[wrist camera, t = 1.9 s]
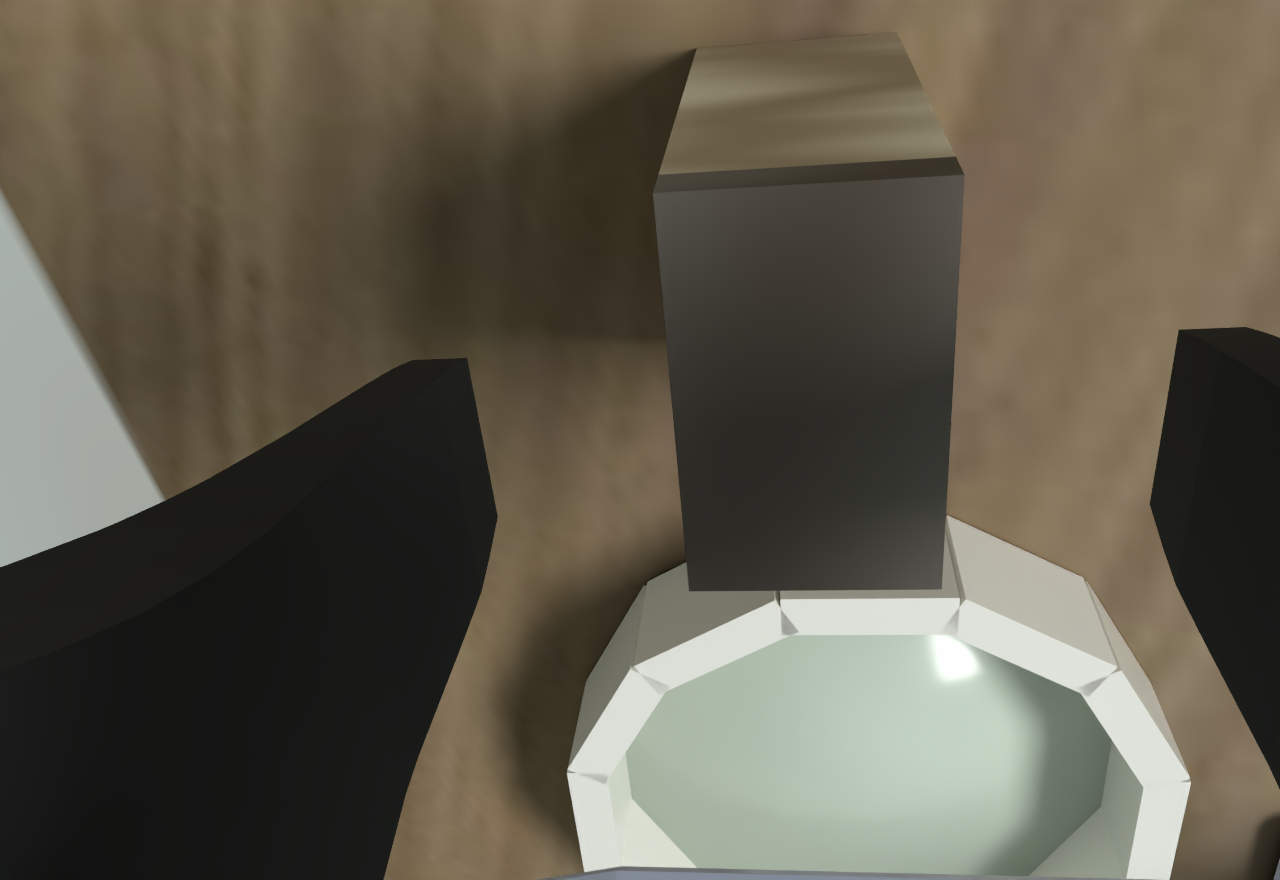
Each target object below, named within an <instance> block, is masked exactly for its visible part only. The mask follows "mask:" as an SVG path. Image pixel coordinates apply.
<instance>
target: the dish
mask: <svg viewBox="0 0 1280 880" xmlns="http://www.w3.org/2000/svg"><path fill="white" fill-rule="evenodd" d="M567 777H568V782H569V788H570V794H571V799H572V805H573V810H574V816H575V822H576V827H577V833H578V838H579V844H580V849H581V855H582V861H583V866H584V872H589V871H595V870H601V869H607V868H614V867H620V866H635V867H675V868H715V869H755V870H795V871H835V872H875V873H915V874H955V875H995V876H1034V877H1074V878H1114V879H1154V880H1170V875H1171V871H1172V866H1173V862H1174V857H1175V853H1176V848H1177V844H1178V839H1179V834H1180V830H1181V825H1182V821H1183V816H1184V812H1185V807H1186V803H1187V798H1188V794H1189V789H1190V785H1191V781H1190V776H1189V774H1188V772H1187V769H1186V767H1185V764H1184V762H1183V760H1182V757H1181V755H1180V752H1179V750H1178V748H1177V745H1176V743H1175V740H1174V738H1173V736H1172V733H1171V731H1170V728H1169V726H1168V724H1167V721H1166V719H1165V716H1164V714H1163V712H1162V709H1161V707H1160V704H1159V702H1158V700H1157V697H1156V695H1155V692H1154V690H1153V688H1152V685H1151V683H1150V681H1149V680H1148V678H1147V676H1146V675H1145V673H1144V672H1143V670H1142V668H1141V667H1140V665H1139V664H1138V662H1137V660H1136V659H1135V657H1134V656H1133V654H1132V652H1131V651H1130V649H1129V648H1128V646H1127V644H1126V643H1125V641H1124V640H1123V638H1122V636H1121V635H1120V633H1119V632H1118V630H1117V628H1116V627H1115V625H1114V624H1113V622H1112V620H1111V619H1110V617H1109V616H1108V614H1107V612H1106V611H1105V609H1104V608H1103V606H1102V604H1101V603H1100V601H1099V600H1098V598H1097V596H1096V595H1095V593H1094V592H1093V590H1092V588H1091V587H1090V585H1089V584H1088V582H1087V581H1084V579H1083V577H1081V576H1079V575H1076V574H1074V573H1072V572H1070V571H1068V570H1065V569H1063V568H1061V567H1059V566H1057V565H1055V564H1052V563H1050V562H1048V561H1046V560H1044V559H1041V558H1039V557H1037V556H1035V555H1033V554H1031V553H1028V552H1026V551H1024V550H1022V549H1020V548H1017V547H1015V546H1013V545H1011V544H1009V543H1007V542H1004V541H1002V540H1000V539H998V538H996V537H993V536H991V535H989V534H987V533H985V532H983V531H980V530H978V529H976V528H974V527H972V526H969V525H967V524H965V523H963V522H961V521H959V520H956V519H954V518H952V517H950V516H948V515H946V522H945V540H944V558H943V577H942V590H817V591H689V585H688V574H687V563H684V564H682V565H680V566H678V567H676V568H674V569H672V570H670V571H668V572H666V573H664V574H662V575H660V576H658V577H656V578H654V579H652V580H650V581H648V582H647V586H646V585H644V586H643V587H642V589H641V591H640V592H639V594H638V596H637V597H636V599H635V601H634V602H633V604H632V606H631V607H630V609H629V611H628V612H627V614H626V616H625V617H624V619H623V621H622V622H621V624H620V626H619V627H618V629H617V631H616V632H615V634H614V636H613V637H612V639H611V641H610V642H609V644H608V646H607V647H606V649H605V651H604V652H603V654H602V656H601V657H600V659H599V661H598V662H597V664H596V666H595V667H594V669H593V671H592V672H591V674H590V676H589V677H588V679H587V681H586V685H585V689H584V694H583V699H582V703H581V708H580V713H579V718H578V722H577V727H576V732H575V736H574V741H573V746H572V751H571V755H570V760H569V765H568V770H567Z"/></svg>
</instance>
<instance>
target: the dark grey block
mask: <svg viewBox="0 0 1280 880" xmlns="http://www.w3.org/2000/svg"><path fill="white" fill-rule="evenodd" d="M963 191H964V173H963V171H962V169H961V167H960V165H959V162H958V160H957V158H956V156H955V154H954V152H953V150H952V148H951V146H950V143H949V141H948V139H947V137H946V135H945V133H944V131H943V129H942V127H941V125H940V122H939V120H938V118H937V116H936V114H935V112H934V110H933V108H932V106H931V103H930V101H929V99H928V97H927V95H926V93H925V91H924V89H923V87H922V84H921V82H920V80H919V78H918V76H917V74H916V72H915V70H914V68H913V66H912V63H911V61H910V59H909V57H908V55H907V53H906V51H905V49H904V47H903V44H902V42H901V40H900V38H899V36H898V34H897V33H884V34H871V35H858V36H845V37H832V38H819V39H806V40H793V41H780V42H767V43H754V44H741V45H728V46H715V47H702V48H697V49H696V53H695V56H694V59H693V63H692V66H691V69H690V72H689V76H688V79H687V82H686V86H685V89H684V92H683V96H682V99H681V102H680V105H679V109H678V112H677V115H676V119H675V122H674V125H673V128H672V132H671V135H670V138H669V142H668V145H667V148H666V152H665V155H664V158H663V161H662V165H661V168H660V171H659V175H658V178H657V181H656V184H655V188H654V191H653V200H654V211H655V222H656V233H657V244H658V255H659V266H660V277H661V288H662V299H663V310H664V321H665V332H666V343H667V354H668V365H669V376H670V387H671V398H672V409H673V420H674V431H675V442H676V453H677V464H678V475H679V486H680V497H681V508H682V519H683V530H684V541H685V552H686V563H687V574H688V585H689V591H817V590H942V577H943V558H944V540H945V522H946V503H947V485H948V467H949V448H950V430H951V411H952V393H953V375H954V356H955V338H956V320H957V301H958V283H959V265H960V246H961V228H962V210H963Z"/></svg>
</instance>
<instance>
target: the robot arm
mask: <svg viewBox="0 0 1280 880" xmlns="http://www.w3.org/2000/svg"><path fill="white" fill-rule="evenodd" d="M1150 506H1151V510H1152V513H1153V516H1154V519H1155V523H1156V526H1157V529H1158V533H1159V536H1160V539H1161V542H1162V546H1163V549H1164V552H1165V555H1166V558H1167V560H1168V563H1169V566H1170V569H1171V572H1172V575H1173V578H1174V581H1175V584H1176V586H1177V588H1178V590H1179V592H1180V594H1181V596H1182V598H1183V600H1184V602H1185V604H1186V606H1187V608H1188V610H1189V612H1190V614H1191V616H1192V618H1193V620H1194V622H1195V624H1196V626H1197V628H1198V630H1199V632H1200V634H1201V636H1202V638H1203V640H1204V642H1205V644H1206V646H1207V648H1208V650H1209V652H1210V654H1211V655H1212V657H1213V659H1214V661H1215V663H1216V665H1217V667H1218V669H1219V671H1220V673H1221V675H1222V677H1223V678H1224V680H1225V682H1226V684H1227V686H1228V688H1229V690H1230V692H1231V694H1232V696H1233V698H1234V700H1235V701H1236V703H1237V705H1238V707H1239V709H1240V711H1241V713H1242V715H1243V717H1244V719H1245V721H1246V723H1247V725H1248V726H1249V728H1250V730H1251V732H1252V734H1253V736H1254V738H1255V740H1256V742H1257V744H1258V746H1259V748H1260V750H1261V751H1262V753H1263V755H1264V757H1265V759H1266V761H1267V763H1268V765H1269V767H1270V769H1271V771H1272V773H1273V776H1274V778H1275V780H1276V782H1277V784H1278V787H1279V789H1280V338H1278V337H1276V336H1273V335H1270V334H1267V333H1264V332H1261V331H1258V330H1254V329H1251V328H1247V327H1237V328H1212V329H1187V330H1179V332H1178V338H1177V344H1176V350H1175V356H1174V362H1173V368H1172V374H1171V380H1170V386H1169V392H1168V398H1167V404H1166V410H1165V416H1164V422H1163V428H1162V434H1161V440H1160V446H1159V452H1158V458H1157V464H1156V470H1155V476H1154V482H1153V488H1152V494H1151V500H1150ZM497 517H498V516H497V511H496V506H495V501H494V496H493V490H492V485H491V480H490V475H489V470H488V465H487V459H486V454H485V449H484V444H483V439H482V434H481V428H480V423H479V418H478V413H477V408H476V402H475V397H474V392H473V387H472V382H471V377H470V371H469V366H468V361H467V358H457V359H432V360H412V361H410V362H407V363H405V364H402V365H400V366H398V367H396V368H394V369H392V370H390V371H389V372H387V373H385V374H383V375H381V376H380V377H378V378H376V379H375V380H373V381H371V382H370V383H368V384H366V385H365V386H363V387H361V388H360V389H358V390H356V391H355V392H353V393H352V394H350V395H348V396H347V397H345V398H344V399H342V400H340V401H339V402H337V403H336V404H334V405H332V406H331V407H329V408H328V409H326V410H324V411H323V412H321V413H320V414H318V415H316V416H315V417H313V418H312V419H310V420H308V421H307V422H305V423H304V424H302V425H300V426H299V427H297V428H296V429H294V430H292V431H291V432H289V433H288V434H286V435H284V436H283V437H281V438H279V439H277V440H276V441H274V442H272V443H270V444H269V445H267V446H265V447H263V448H262V449H260V450H258V451H256V452H255V453H253V454H251V455H249V456H248V457H246V458H244V459H243V460H241V461H239V462H237V463H236V464H234V465H232V466H230V467H229V468H227V469H225V470H223V471H222V472H220V473H218V474H216V475H215V476H213V477H211V478H209V479H207V480H205V481H203V482H202V483H200V484H198V485H196V486H194V487H192V488H190V489H188V490H186V491H184V492H182V493H180V494H178V495H176V496H174V497H172V498H170V499H168V500H166V501H164V502H161V503H159V504H157V505H155V506H153V507H151V508H148V509H146V510H144V511H142V512H140V513H137V514H135V515H133V516H131V517H129V518H127V519H124V520H122V521H120V522H118V523H115V524H113V525H111V526H108V527H106V528H103V529H101V530H99V531H96V532H93V533H91V534H88V535H86V536H83V537H80V538H77V539H75V540H72V541H70V542H67V543H64V544H62V545H59V546H56V547H54V548H51V549H48V550H46V551H43V552H40V553H38V554H35V555H32V556H30V557H27V558H25V559H22V560H19V561H17V562H14V563H11V564H9V565H6V566H3V567H0V880H383V879H384V876H385V872H386V868H387V864H388V860H389V856H390V852H391V849H392V845H393V841H394V837H395V833H396V829H397V826H398V822H399V818H400V814H401V810H402V806H403V802H404V799H405V795H406V792H407V789H408V786H409V783H410V780H411V777H412V774H413V771H414V768H415V765H416V762H417V759H418V756H419V753H420V751H421V748H422V746H423V743H424V740H425V738H426V735H427V733H428V730H429V728H430V725H431V722H432V720H433V717H434V715H435V712H436V710H437V707H438V704H439V702H440V699H441V697H442V694H443V692H444V689H445V686H446V684H447V681H448V679H449V676H450V674H451V671H452V668H453V666H454V663H455V661H456V658H457V656H458V653H459V650H460V648H461V645H462V642H463V640H464V637H465V635H466V632H467V629H468V627H469V624H470V621H471V619H472V616H473V613H474V611H475V608H476V605H477V602H478V600H479V597H480V594H481V591H482V587H483V583H484V579H485V574H486V570H487V566H488V561H489V557H490V552H491V547H492V542H493V537H494V532H495V527H496V522H497ZM539 880H1154V879H1114V878H1074V877H1034V876H995V875H955V874H915V873H875V872H835V871H795V870H755V869H715V868H675V867H635V866H620V867H614V868H607V869H601V870H595V871H589V872H582V873H576V874H570V875H564V876H557V877H551V878H545V879H539ZM1274 880H1280V859H1279V863H1278V866H1277V870H1276V873H1275V876H1274Z"/></svg>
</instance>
